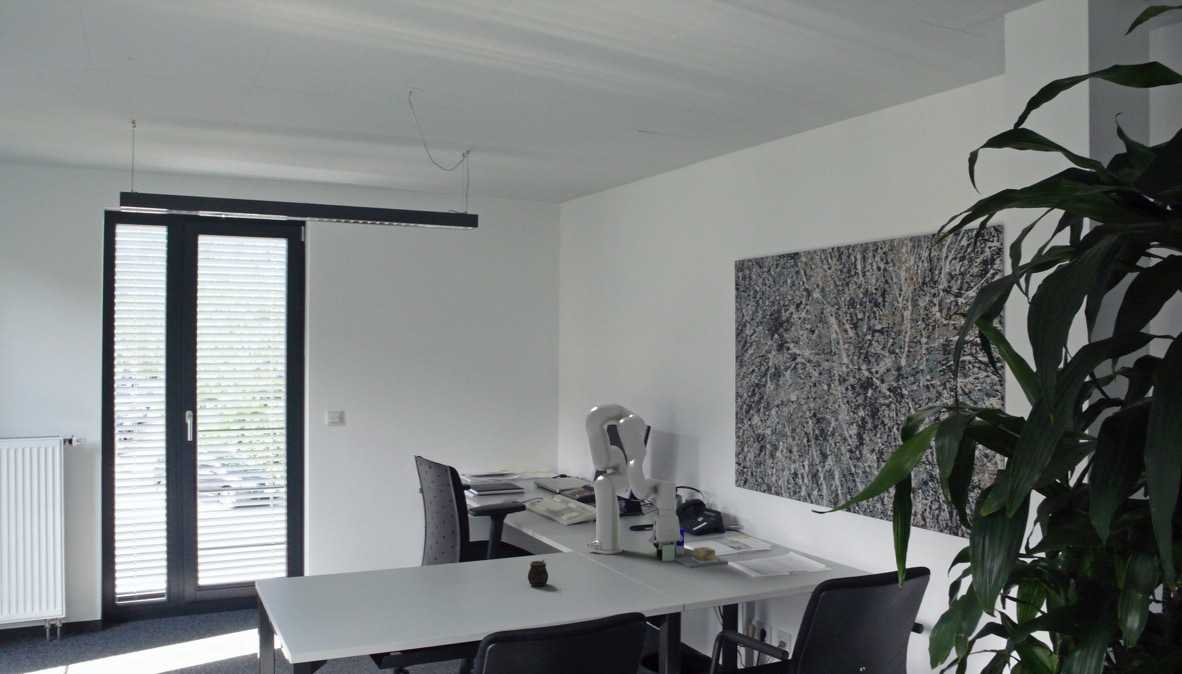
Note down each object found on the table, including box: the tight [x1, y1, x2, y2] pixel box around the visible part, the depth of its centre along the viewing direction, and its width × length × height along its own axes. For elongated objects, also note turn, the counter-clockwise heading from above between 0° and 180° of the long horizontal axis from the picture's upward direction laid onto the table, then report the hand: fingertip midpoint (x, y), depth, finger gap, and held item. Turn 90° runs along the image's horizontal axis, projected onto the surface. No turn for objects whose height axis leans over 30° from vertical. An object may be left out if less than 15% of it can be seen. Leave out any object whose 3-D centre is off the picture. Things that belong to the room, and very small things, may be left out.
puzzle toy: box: [663, 524, 685, 555], centre depth 360 cm, size 10×10×10 cm
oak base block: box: [693, 546, 716, 562], centre depth 342 cm, size 6×6×4 cm
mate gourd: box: [527, 559, 549, 588], centre depth 308 cm, size 7×8×10 cm
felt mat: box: [674, 555, 729, 569], centre depth 342 cm, size 17×12×1 cm
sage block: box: [661, 542, 676, 562], centre depth 347 cm, size 5×5×6 cm
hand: (666, 557), depth 346 cm, fingers closed on sage block, 5 cm apart
